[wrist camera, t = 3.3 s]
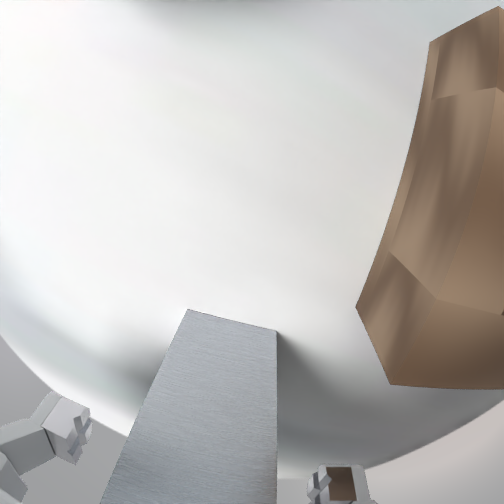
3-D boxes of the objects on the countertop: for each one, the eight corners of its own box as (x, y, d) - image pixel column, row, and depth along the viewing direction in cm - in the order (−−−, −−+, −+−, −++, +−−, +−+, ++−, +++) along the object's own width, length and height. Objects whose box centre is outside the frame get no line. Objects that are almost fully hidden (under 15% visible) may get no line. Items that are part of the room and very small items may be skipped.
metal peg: (187, 309, 13) (68, 586, 2) (276, 331, 13) (271, 630, 2) (177, 373, 15) (99, 595, 3) (254, 392, 15) (232, 625, 3)
